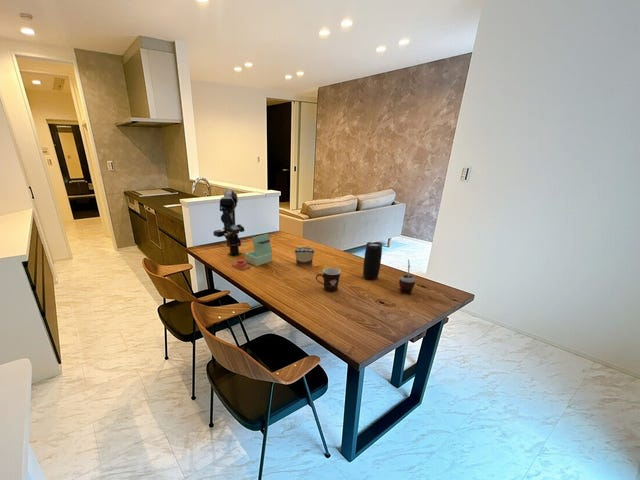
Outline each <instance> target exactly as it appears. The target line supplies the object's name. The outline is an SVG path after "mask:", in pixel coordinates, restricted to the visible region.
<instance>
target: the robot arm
mask: <svg viewBox="0 0 640 480" xmlns="http://www.w3.org/2000/svg"><path fill="white" fill-rule="evenodd" d="M238 202H239V199H238V194H237V193H235V191H234V190H232V189H227V190H225V191H224V194H223V196H222V197H220V199H219V212H222V214H221V216H220V221H221V222H222V224H223V228H222V230H221V229H216V230H214V231H213V232H212V233H213V236H214V237H217V238H221V237H224V238H225V239H226V247H227V248H229V252H228V253H227V254H228V255H229V256H231V257H236V256H240V255H241V254H242V253H240V246H242V242H241V241H242V240H241V239H240V237H239V234H240V233H244V232H245V227H244V226H243V225H242V224H236V209H237V206H238Z"/></svg>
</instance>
